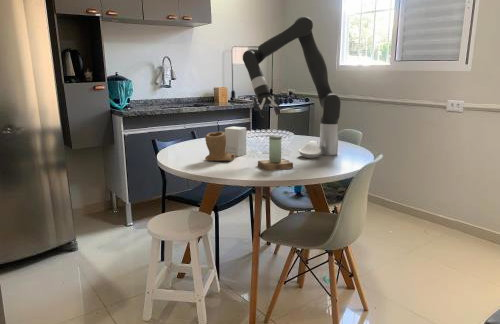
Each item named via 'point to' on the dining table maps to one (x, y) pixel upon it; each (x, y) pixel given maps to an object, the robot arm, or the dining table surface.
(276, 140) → the tea tin
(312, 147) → the spoon rest
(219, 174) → the dining table surface
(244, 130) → the supplement box
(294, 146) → the dining table surface
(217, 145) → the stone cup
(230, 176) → the dining table surface
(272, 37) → the robot arm
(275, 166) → the dock
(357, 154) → the dining table surface
